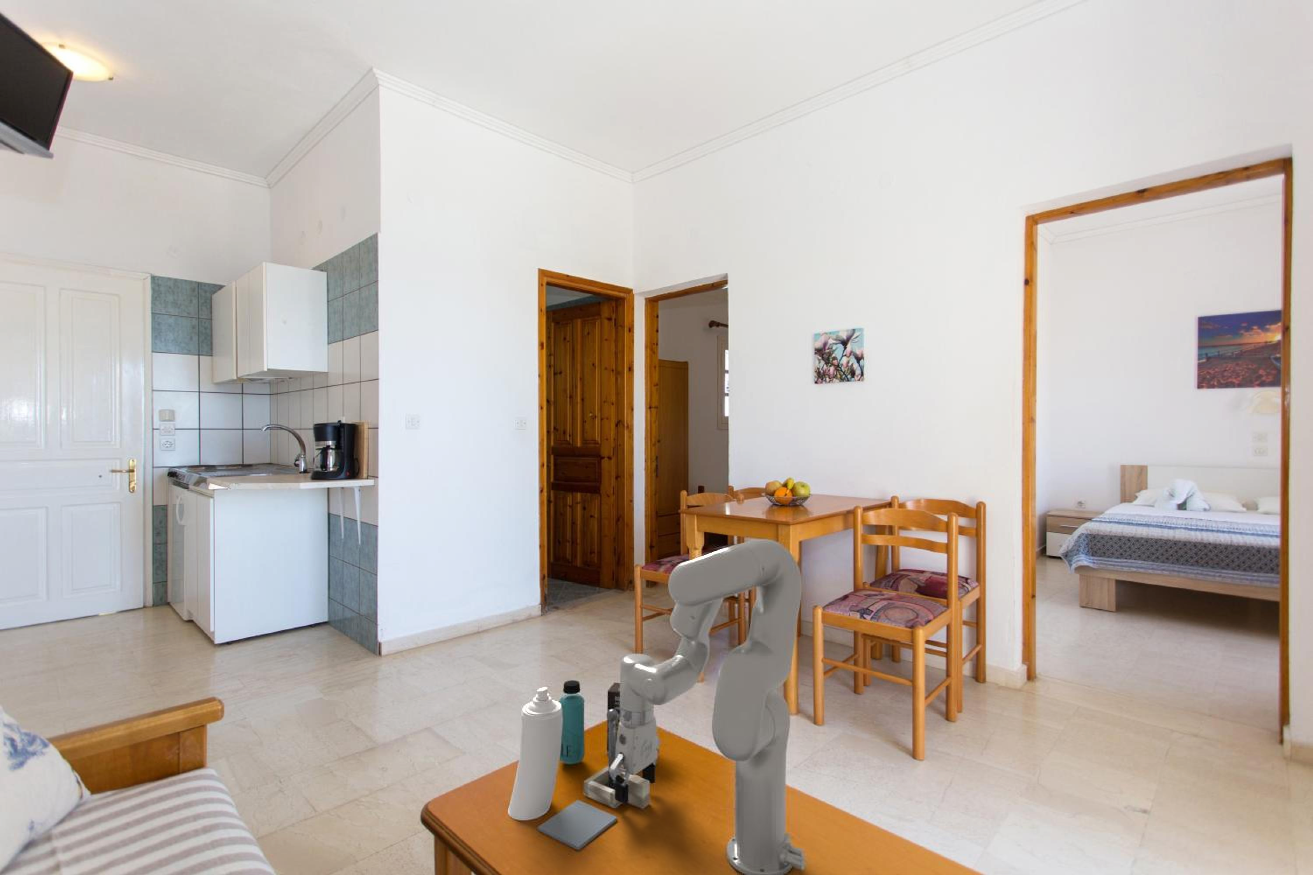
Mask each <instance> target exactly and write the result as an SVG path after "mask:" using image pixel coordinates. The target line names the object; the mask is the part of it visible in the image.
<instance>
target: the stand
mask: <svg viewBox="0 0 1313 875" xmlns="http://www.w3.org/2000/svg"><path fill="white" fill-rule="evenodd" d="M617 718H618V712H617V711H616V710H615V709H610V710H609V711H608V712H606V719H608V720H609V754H608V765H609V768H610V767H611V765H612V764H613V762H614V761H615V759H616V719H617ZM603 785H604V786H606V787H608V788H611V789H613V790H615V783H614V782H613V780H612V779H611V776H610V773H609V782H608V783H605V784H603Z"/></svg>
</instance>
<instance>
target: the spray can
mask: <svg viewBox="0 0 1313 875" xmlns="http://www.w3.org/2000/svg"><path fill="white" fill-rule="evenodd" d="M521 710H522V711H521V713H520V714H521V725H520V726H521V732H520V748H519V749H520V750H519V759H518V763H517V768H516V773H515V779H514V782H513V787H512V793H511V798H510V802H509V806H508V809H507V813H508V816H509V817H510V818H512V819H514V820H517V821H530V820H534V819H538V818H540V817H542V816H544V815H545V814H547V813H548V811H549V810H550V809H551V808H550V807H551V804H552V799H553V795H554V792H555V786H556V781H557V780H556V779H557V775H558V771H559V764H560V751H561V738H562V725H563V715H562V708H561V704H560V703H559V701H557V700H554V699H553V698H552V696H550V694H549V693H548V687H541V688H538V689H537V690H536V695H535V696H534V697H533V699H532V701H531V702H528V703H526V704H525V705H523V707H522V709H521Z"/></svg>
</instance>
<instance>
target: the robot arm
mask: <svg viewBox="0 0 1313 875" xmlns="http://www.w3.org/2000/svg"><path fill="white" fill-rule="evenodd" d="M801 574H802V573H801V570H800V567H799V564H798V562H797V561H796V558H795V557H794V556H793V554H792V553H791V551H790V550H788V549H787V548H786V547H785V546H784V545H782V544H781V543H780V542H778V541H775V540H773V539H767V538H764V539H763V538H759V539H753V540H748V541H745V542H742V543H737V544H735V545H731V546H727V547H723V548H721V549H717V550H716V551H713V552H710V553H708V554H705V555H702V556H699V557H696V558H694V559H691V560H687V561H684V562H680V563H679V564H677V565H676V566H675V567H674V568H673V569H672V572H671V573H670V575H669V578H668V584H667V586H668V589H667V590H668V592H669V596H670V598H671V599H672V600H673V602H674V603H675V605H674V607H673V610H672V612H671V614H670V617H669V622H670V626H671V628H672V629H673V630H674V631H675V632H676V633H677V635H679V636H681V639H680V641H679V645H678V647H677V649H676V651H675V653H674V656H673V657H672V658H669V659H667V660H665V661H663V662H661V663H659V664H655V661H654V659H653V657H651V656H650V655H648V654H645V653H644V654H643V653H631V654H627V655H625V656H623V658H622V659H621V662H620V667H619V668H620V669H619V670H620V671H619V672H620V673H619V674H620V675H619V683H620V718H619V720H620V723H619V727H618V733H617V741H616V759H615V761H614V762H613V764H612V765H611V767H610V768H609V773H610V776H611V779H612V780H613V782H614V783H615V800H617V801H619V802H621V803H622V804H624V805H627V804H629V803H628V789H629V786H628V784H627V781H628V779H629V776H630V774H631V775H637V774H638V773H640V772H641V778H643V779H646V780H649V784H652V785H653V784H655V782H656V764H657V761H658V759H657V758H658V755H659V753H660V749H659V748H660V745H661V741H662V740H661V738H659V737H658V727H657V720H656V715H655V714H654V713H655V706H663V705H665V704H667V703H669V702H671V701H673V700H674V699H676V698H677V697H679V696H681V695H682V694H685V693H686V692H688V691H690V690H691V689H692V688H694V687H695V686H696V685H697V683H698V681H699V679H700V677H701V675H702V674H703V671H704V669H705V666H706V664H707V663H708V660H709V657H710V649H711V648H710V647H711V646H710V645H711V644H710V641H711V640H710V636H709V634H710V631H711V629H712V626H713V624H714V622H715V619H716V617H717V614H718V612H719V609H720V608H721V606H722V604H723V601H724V599H726V598H728V597H731V596H735V595H739V594H742V593H745V592H748V591H751V590H753V589H756V588H759V589H758V593H757V594H758V595H757V597H756V600H755V601H754V605H753V607H752V611H751V616H750V618H751V619H750V625H749V626H750V627H749V630H748V635H747V638H746V640H745V642H743V643H742V644H740V645H738V646H737V647H734V648H733V649H731V650H730V651H729V652H728V653H727V654H726V655H725V657H723V660H722V662H721V664H720V667H719V672H718V676H717V683H716V691H715V696H714V704H713V711H712V718H711V720H712V721H711V732H712V738H713V741H714V743H715V745H716V748H717V749H718V751H719V752H720V753H721V754H722V756H724V757H725V758H727V759H728V760H730V761H732V762H734V763H735V764H734V836H732V838H730V840H729V841H728V842H727V844H726V858H727V861H728V862H729V864H730V865H731V866H732V867H733V868H734V869H735V870H736V871H738V872H739V873H742V874H744V875H785V874H787V873H788V872H789V871H790V870H791V869H792V868H793V867H794V868H796V869H798V870H800V871H803V870H805V868H806V863H807V862H806V858H805V857H804V855H805V851H804V849H801V848H798V847H795V846H793V844H791V834H788V833H786V786H787V785H786V780H787V778H786V777H787V772H786V771H787V770H786V769H787V749H788V743H789V742H788V740H789V735H790V728H791V716H790V715H791V714H790V709H789V705H788V703H787V701H786V699H785V698H784V696H783V695H782V694H781V693H780V691H778V690H776V689H778V688H779V687H780V686H781V685H783V684H784V683H785V682H786V681H787V680H788V678H789V676H790V674H791V670H792V665H793V664H792V663H793V656H794V649H795V643H796V642H795V641H796V636H797V627H798V626H797V625H798V618H799V611H800V606H801V601H802V600H801V598H802V594H803V593H802V590H803V580H802V575H801ZM622 771H623V772H625V775H624V778H622V777H621V776H620V775H621V773H622Z"/></svg>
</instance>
